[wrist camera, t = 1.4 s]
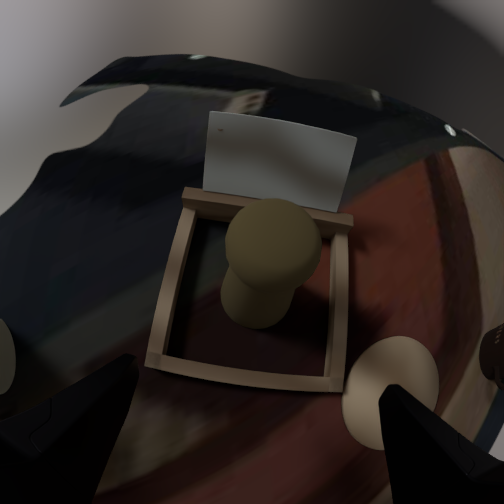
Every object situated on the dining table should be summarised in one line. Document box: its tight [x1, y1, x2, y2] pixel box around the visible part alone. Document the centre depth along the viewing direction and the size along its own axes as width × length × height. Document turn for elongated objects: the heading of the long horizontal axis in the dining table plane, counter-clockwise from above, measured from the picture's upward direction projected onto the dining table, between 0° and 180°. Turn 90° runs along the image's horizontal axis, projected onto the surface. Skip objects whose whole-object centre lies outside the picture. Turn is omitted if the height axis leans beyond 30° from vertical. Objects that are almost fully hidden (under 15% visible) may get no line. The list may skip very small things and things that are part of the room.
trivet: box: [341, 336, 439, 450], centre depth 20 cm, size 11×11×1 cm
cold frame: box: [145, 111, 357, 392], centre depth 20 cm, size 19×15×9 cm
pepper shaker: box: [221, 198, 322, 329], centre depth 18 cm, size 6×6×11 cm
